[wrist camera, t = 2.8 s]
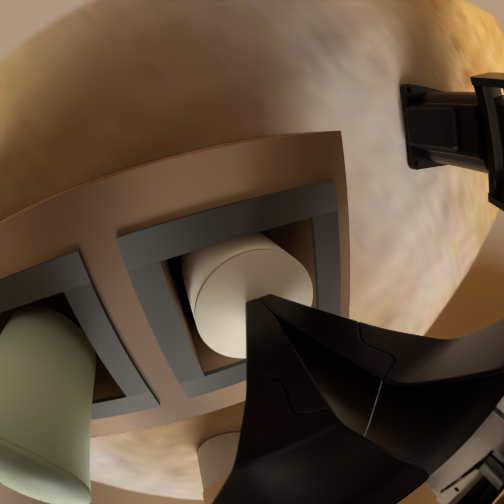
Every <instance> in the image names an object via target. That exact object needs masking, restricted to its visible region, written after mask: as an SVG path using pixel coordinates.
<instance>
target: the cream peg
mask: <svg viewBox="0 0 504 504" xmlns="http://www.w3.org/2000/svg"><path fill="white" fill-rule="evenodd" d="M178 262H179V266H180V270H181V273H182V277H183V281H184V285H185V288H186V292H187V295H188V299H189V302H190V306H191V309H192V313H193V316H194V319H195V323H196V326H197V329H198V332H199V334H200V336H201V338H202V339H203V341H204V342H205V343H206V344H207V345H208V346H209V347H210V348H211V349H213V350H214V351H216V352H217V353H219V354H222V355H224V356H228V357H232V358H246V318H245V303H246V302H247V301H250V300H253V299H259V297H262V296H265V295H267V294H273V295H276V296H279V297H282V298H285V299H288V300H291V301H294V302H297V303H300V304H303V305H306V306H310V307H311V305H312V300H313V287H312V282H311V278H310V276H309V274H308V272H307V270H306V269H305V267H304V266H303V265H302V264H301V263H300V262H299V261H298V260H296V259H295V258H294V257H292V256H291V255H290V254H288V253H287V252H286V251H284V250H283V249H282V248H281V247H279V246H278V245H277V244H275V243H274V242H273V241H271V240H270V239H269V238H267V237H266V236H265V235H263V234H262V233H261V232H258V233H254V234H251V235H247V236H244V237H240V238H237V239H233V240H230V241H226V242H223V243H220V244H216V245H213V246H209V247H206V248H203V249H199V250H196V251H193V252H189V253H186V254H182V255H179V256H178Z"/></svg>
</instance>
